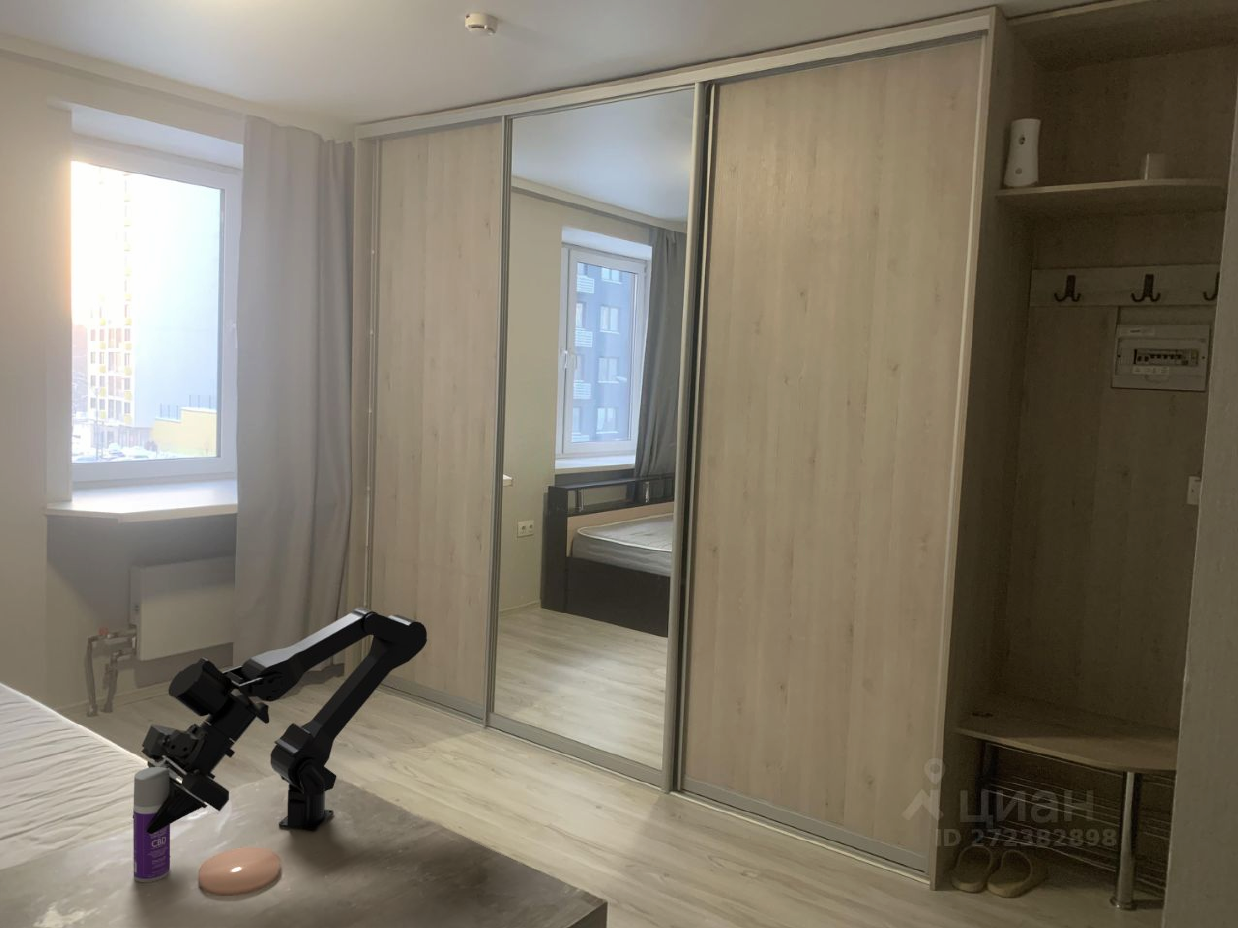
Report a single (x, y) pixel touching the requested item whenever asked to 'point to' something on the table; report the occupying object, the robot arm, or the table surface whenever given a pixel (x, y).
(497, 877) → the table surface
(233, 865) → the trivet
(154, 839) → the container
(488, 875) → the table surface
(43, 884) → the table surface
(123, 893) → the table surface
